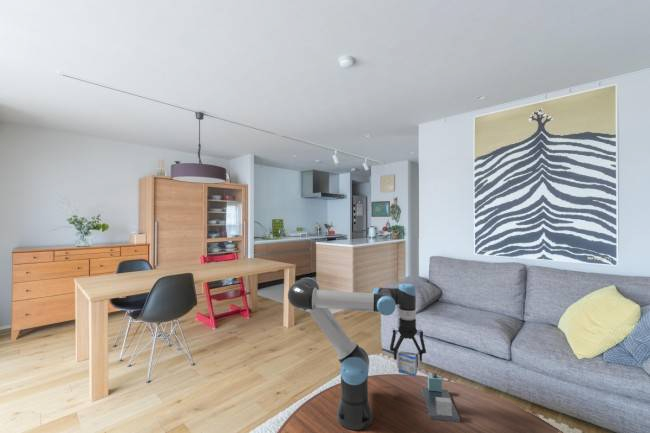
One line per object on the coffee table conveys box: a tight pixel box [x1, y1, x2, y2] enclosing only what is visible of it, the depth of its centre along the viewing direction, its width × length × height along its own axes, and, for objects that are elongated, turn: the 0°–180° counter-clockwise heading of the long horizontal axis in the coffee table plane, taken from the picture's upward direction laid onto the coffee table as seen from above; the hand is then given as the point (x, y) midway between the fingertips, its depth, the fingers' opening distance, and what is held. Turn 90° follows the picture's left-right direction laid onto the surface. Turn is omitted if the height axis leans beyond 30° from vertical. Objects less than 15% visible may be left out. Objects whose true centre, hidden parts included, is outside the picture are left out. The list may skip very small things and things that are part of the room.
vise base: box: [421, 387, 461, 423], centre depth 133 cm, size 12×21×8 cm, turn 170°
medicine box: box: [397, 350, 418, 377], centre depth 134 cm, size 8×4×9 cm, turn 62°
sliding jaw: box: [427, 372, 443, 392], centre depth 143 cm, size 6×3×8 cm, turn 81°
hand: (407, 366), depth 134 cm, fingers closed on medicine box, 9 cm apart
